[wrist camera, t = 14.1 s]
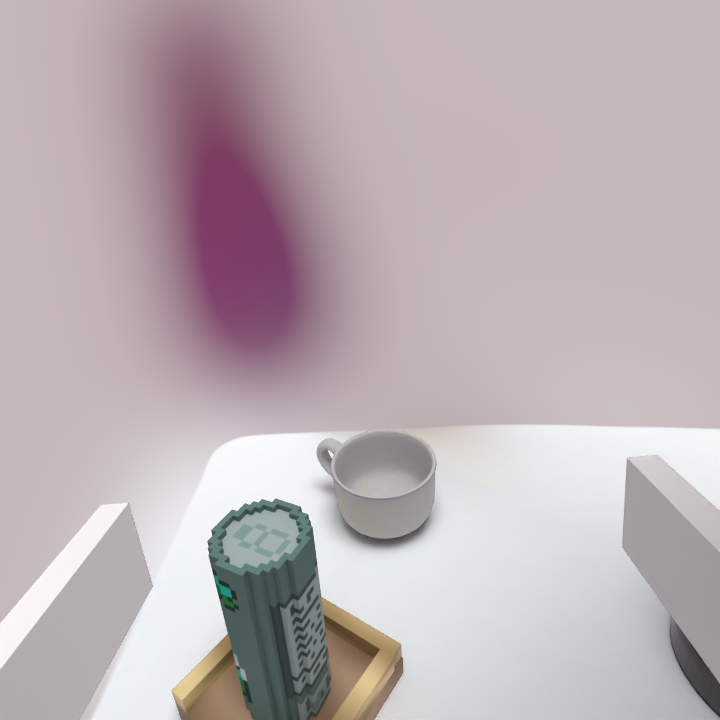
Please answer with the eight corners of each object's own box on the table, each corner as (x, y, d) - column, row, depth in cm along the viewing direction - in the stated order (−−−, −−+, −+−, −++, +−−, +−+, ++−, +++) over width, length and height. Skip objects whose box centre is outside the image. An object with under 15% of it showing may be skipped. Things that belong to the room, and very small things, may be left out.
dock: (289, 601, 47) (285, 575, 45) (403, 672, 40) (402, 644, 39) (181, 718, 38) (171, 690, 37) (303, 832, 32) (297, 804, 30)
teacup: (455, 514, 56) (457, 454, 52) (388, 574, 49) (385, 509, 46) (365, 462, 65) (361, 408, 61) (297, 506, 58) (289, 448, 55)
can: (278, 635, 42) (251, 490, 35) (343, 666, 39) (327, 515, 33) (229, 706, 37) (188, 553, 31) (300, 746, 34) (271, 588, 28)
